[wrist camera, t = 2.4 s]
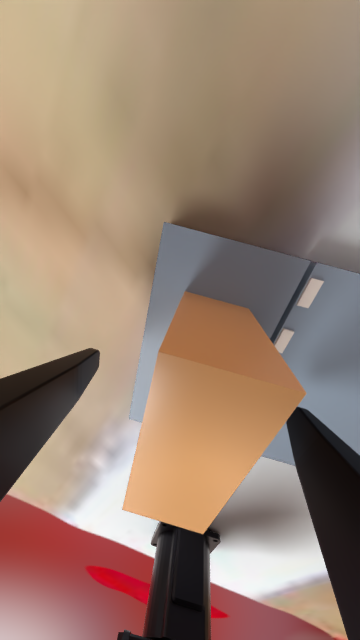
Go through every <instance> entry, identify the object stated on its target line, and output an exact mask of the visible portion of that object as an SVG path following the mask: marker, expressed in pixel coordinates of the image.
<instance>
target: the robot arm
mask: <svg viewBox="0 0 360 640" xmlns="http://www.w3.org/2000/svg"><path fill="white" fill-rule="evenodd" d="M99 357H100V352H99V350H96V349H93V348H88V349H85V350H83V351H80V352H77V353H74V354H71V355H68V356H65V357H62V358H59V359H56V360H54V361H51V362H48V363H45V364H42V365H39V366H36V367H33V368H30V369H27V370H25V371H22V372H19V373H16V374H13V375H10V376H7V377H4V378H1V379H0V502H1V500H2V499H3V498H4V496H5V495H6V494H7V492H8V491H9V490H10V489H11V487H12V486H13V485H14V483H15V482H16V481H17V479H18V478H19V477H20V476H21V474H22V473H23V472H24V470H25V469H26V468H27V466H28V465H29V464H30V463H31V461H32V460H33V459H34V457H35V456H36V455H37V453H38V452H39V451H40V450H41V448H42V447H43V446H44V444H45V443H46V442H47V440H48V439H49V438H50V437H51V435H52V434H53V433H54V431H55V430H56V429H57V427H58V426H59V425H60V424H61V422H62V421H63V420H64V418H65V417H66V416H67V414H68V413H69V412H70V411H71V409H72V408H73V407H74V405H75V404H76V403H77V401H78V400H79V398H80V397H81V395H82V394H83V392H84V390H85V389H86V387H87V386H88V384H89V382H90V381H91V379H92V377H93V376H94V374H95V373H96V371H97V369H98V367H99ZM286 425H287V430H288V434H289V439H290V444H291V448H292V453H293V458H294V462H295V466H296V469H297V473H298V476H299V479H300V482H301V486H302V489H303V492H304V496H305V499H306V502H307V505H308V509H309V512H310V515H311V519H312V522H313V525H314V529H315V532H316V535H317V538H318V542H319V545H320V548H321V552H322V555H323V558H324V561H325V565H326V568H327V571H328V575H329V578H330V581H331V585H332V588H333V591H334V594H335V598H336V601H337V604H338V608H339V611H340V614H341V617H342V621H343V624H344V627H345V631H346V634H347V637H348V640H360V455H359V454H358V453H356V452H355V451H354V450H353V449H352V448H351V447H350V446H349V445H347V444H346V443H345V442H344V441H343V440H342V439H341V438H339V437H338V436H337V435H336V434H335V433H334V432H333V431H331V430H330V429H329V428H328V427H327V426H326V425H325V424H324V423H322V422H321V421H320V420H319V419H318V418H317V417H316V416H314V415H313V414H312V413H311V412H310V411H309V410H307V409H305V408H301V407H296V409H295V410H294V411H293V413H292V414H291V415H290V417H289V418H288V420H287V421H286ZM219 543H220V535H219V534H218V533H215V532H211V531H208V530H206V531H205V532H204V534H201V533H197V532H194V531H191V530H187V529H184V528H181V527H178V526H174V525H171V524H168V523H164V522H161V521H159V523H158V526H157V528H156V530H155V532H154V535H153V537H152V541H151V545H153V546H155V547H157V548H156V554H155V560H154V567H153V574H152V579H151V585H150V591H149V598H148V604H147V610H146V616H145V623H144V629H143V636H142V637H141V636H138V635H134V634H132V633H131V631H128V630H124V632H119V634H118V638H117V640H211V603H210V553H211V552H212V551H213V550H214V549H215V548H216V546H217V545H218V544H219Z"/></svg>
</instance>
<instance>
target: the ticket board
mask: <svg viewBox="0 0 360 640" xmlns="http://www.w3.org/2000/svg"><path fill="white" fill-rule="evenodd" d="M270 340H271V342H272V343H273V345H274V346H275V348H276V349H277V350H278V352H279V353H280V355H281V356H282V358H283V359H284V361H285V362H286V364H287V365H288V367H289V368H290V369H291V371H292V372H293V374H294V375H295V377H296V378H297V380H298V381H299V383H300V384H301V386H302V387H303V388H304V390H305V391H306V393H307V394H306V395H305V396H304V398H303V399H302V401H301V402H300V403H299V405H298V406H297V407H301V408H305V409H307V410H309V411H310V412H311V413H312V414H313V415H314V416H316V417H317V418H318V419H319V420H320V421H321V422H322V423H324V424H325V425H326V426H327V427H328V428H329V429H330V430H331V431H333V432H334V433H335V434H336V435H337V436H338V437H339V438H341V439H342V440H343V441H344V442H345V443H346V444H347V445H349V446H350V447H351V448H352V449H353V450H354V451H355V452H356V453H358V454H359V455H360V274H359V273H355V272H351V271H347V270H344V269H340V268H336V267H332V266H329V265H325V264H321V263H317V262H310V264H309V266H308V268H307V270H306V271H305V273H304V275H303V277H302V279H301V281H300V283H299V285H298V287H297V289H296V290H295V292H294V294H293V296H292V298H291V300H290V302H289V304H288V306H287V308H286V310H285V311H284V313H283V315H282V317H281V319H280V321H279V323H278V325H277V327H276V329H275V330H274V332H273V334H272V336H271V338H270ZM261 456H263V457H266V458H270V459H273V460H277V461H280V462H284V463H287V464H290V465H294V466H295V462H294V458H293V453H292V448H291V444H290V439H289V434H288V430H287V425H286V422H285V424H284V425H283V426H282V428H281V429H280V430H279V432H278V433H277V435H276V436H275V437H274V439H273V440H272V441H271V443H270V444H269V445H268V447H267V448H266V449H265V451H264V452H263V454H262V455H261Z"/></svg>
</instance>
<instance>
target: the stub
mask: <svg viewBox="0 0 360 640" xmlns="http://www.w3.org/2000/svg"><path fill="white" fill-rule="evenodd" d="M310 262H311V261H310V260H306V259H303V258H299V257H295V256H291V255H287V254H284V253H280V252H276V251H272V250H268V249H265V248H261V247H257V246H253V245H250V244H246V243H242V242H238V241H234V240H231V239H227V238H223V237H219V236H215V235H212V234H208V233H204V232H200V231H197V230H193V229H189V228H185V227H181V226H178V225H174V224H170V223H166V222H164V224H163V230H162V235H161V241H160V246H159V252H158V258H157V263H156V269H155V274H154V280H153V286H152V291H151V297H150V302H149V308H148V314H147V319H146V325H145V331H144V336H143V342H142V347H141V353H140V359H139V364H138V370H137V375H136V381H135V387H134V392H133V398H132V403H131V409H130V415H129V419H131V420H134V421H138V422H141V423H142V425H141V430H140V434H139V439H138V443H137V447H136V452H135V456H134V460H133V465H132V469H131V474H130V478H129V482H128V487H127V491H126V496H125V500H124V504H123V509H122V510H125V511H128V512H132V513H135V514H138V515H141V516H145V517H148V518H151V519H155V520H158V521H161V522H164V523H168V524H171V525H174V526H178V527H181V528H184V529H187V530H191V531H194V532H197V533H201V534H204V532H205V531H206V530H207V528H208V527H209V526H210V524H211V523H212V522H213V520H214V519H215V517H216V516H217V515H218V513H219V512H220V511H221V509H222V508H223V507H224V505H225V504H226V503H227V501H228V500H229V498H230V497H231V496H232V494H233V493H234V492H235V490H236V489H237V488H238V486H239V485H240V483H241V482H242V481H243V479H244V478H245V477H246V475H247V474H248V473H249V471H250V470H251V469H252V467H253V466H254V464H255V463H256V462H257V460H258V459H259V458H260V456H261V455H262V454H263V452H264V451H265V449H266V448H267V447H268V445H269V444H270V443H271V441H272V440H273V439H274V437H275V436H276V435H277V433H278V432H279V430H280V429H281V428H282V426H283V425H284V424H285V422H286V421H287V420H288V418H289V417H290V415H291V414H292V413H293V411H294V410H295V409H296V407H297V406H298V405H299V403H300V402H301V401H302V399H303V398H304V396H305V395H306V394H307V393H306V391H305V390H304V388H303V387H302V386H301V384H300V383H299V381H298V380H297V378H296V377H295V375H294V374H293V372H292V371H291V369H290V368H289V367H288V365H287V364H286V362H285V361H284V359H283V358H282V356H281V355H280V353H279V352H278V350H277V349H276V348H275V346H274V345H273V343H272V342H271V340H270V338H271V336H272V334H273V332H274V330H275V329H276V327H277V325H278V323H279V321H280V319H281V317H282V315H283V313H284V311H285V310H286V308H287V306H288V304H289V302H290V300H291V298H292V296H293V294H294V292H295V290H296V289H297V287H298V285H299V283H300V281H301V279H302V277H303V275H304V273H305V271H306V270H307V268H308V266H309V264H310Z"/></svg>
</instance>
